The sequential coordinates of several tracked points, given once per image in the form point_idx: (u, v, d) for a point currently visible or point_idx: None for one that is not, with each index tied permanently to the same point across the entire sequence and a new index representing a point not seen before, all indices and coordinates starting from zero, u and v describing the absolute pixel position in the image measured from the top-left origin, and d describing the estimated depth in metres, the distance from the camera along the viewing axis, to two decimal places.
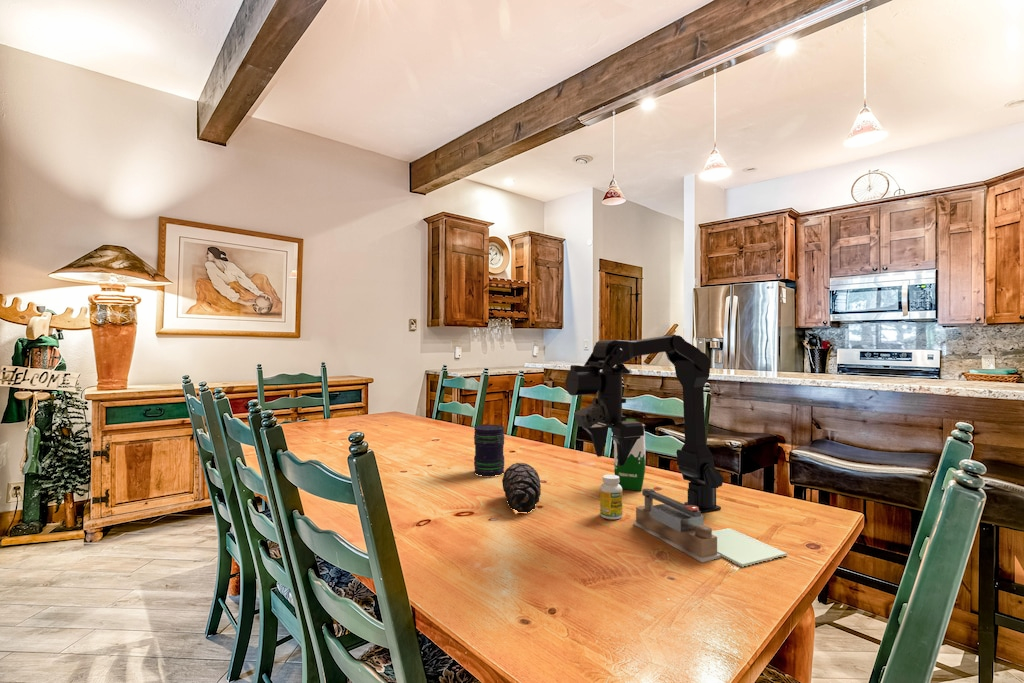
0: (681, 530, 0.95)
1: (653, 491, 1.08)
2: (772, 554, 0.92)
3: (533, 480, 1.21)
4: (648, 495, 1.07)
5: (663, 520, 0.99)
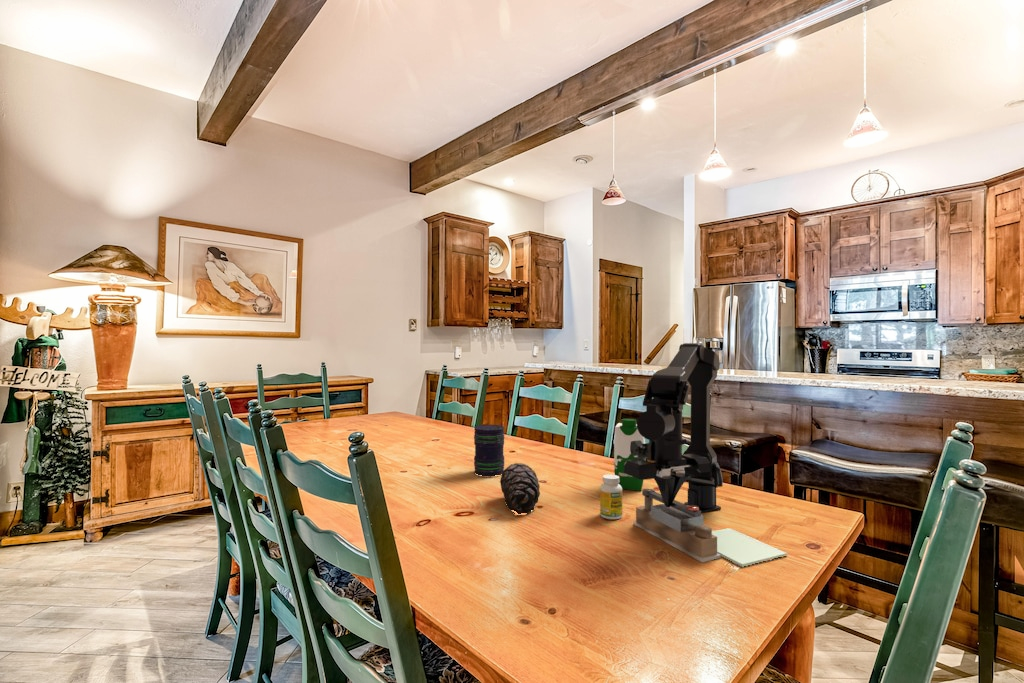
0: (681, 530, 0.95)
1: (653, 491, 1.08)
2: (772, 554, 0.92)
3: (532, 480, 1.20)
4: (648, 495, 1.07)
5: (663, 520, 0.99)
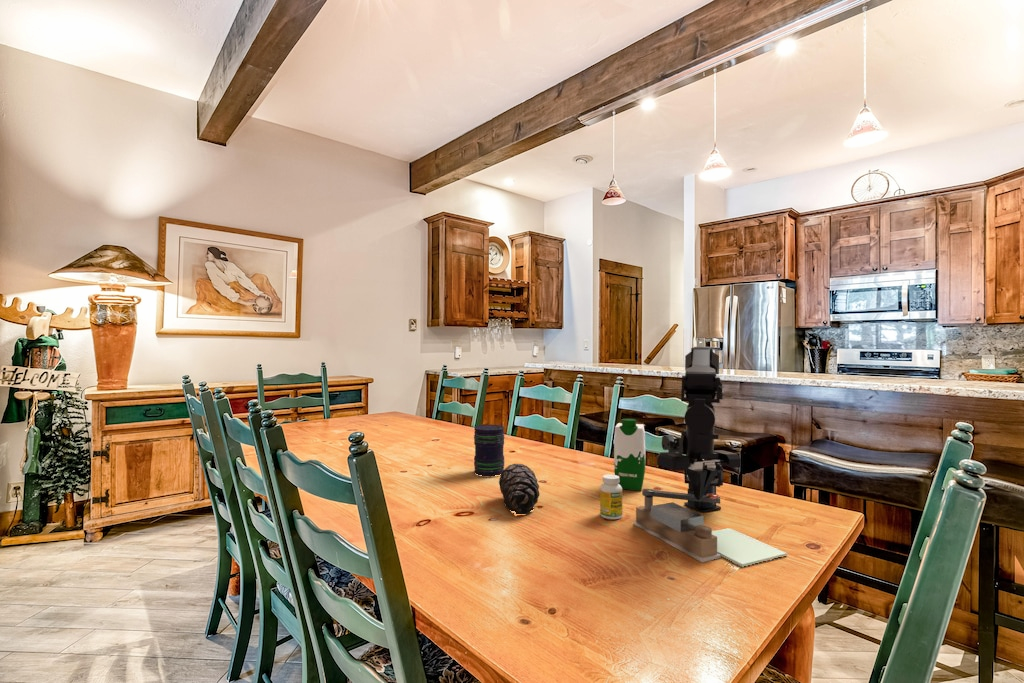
0: (681, 530, 0.95)
1: (653, 490, 1.09)
2: (772, 554, 0.92)
3: (531, 481, 1.20)
4: (653, 495, 1.07)
5: (663, 520, 0.99)
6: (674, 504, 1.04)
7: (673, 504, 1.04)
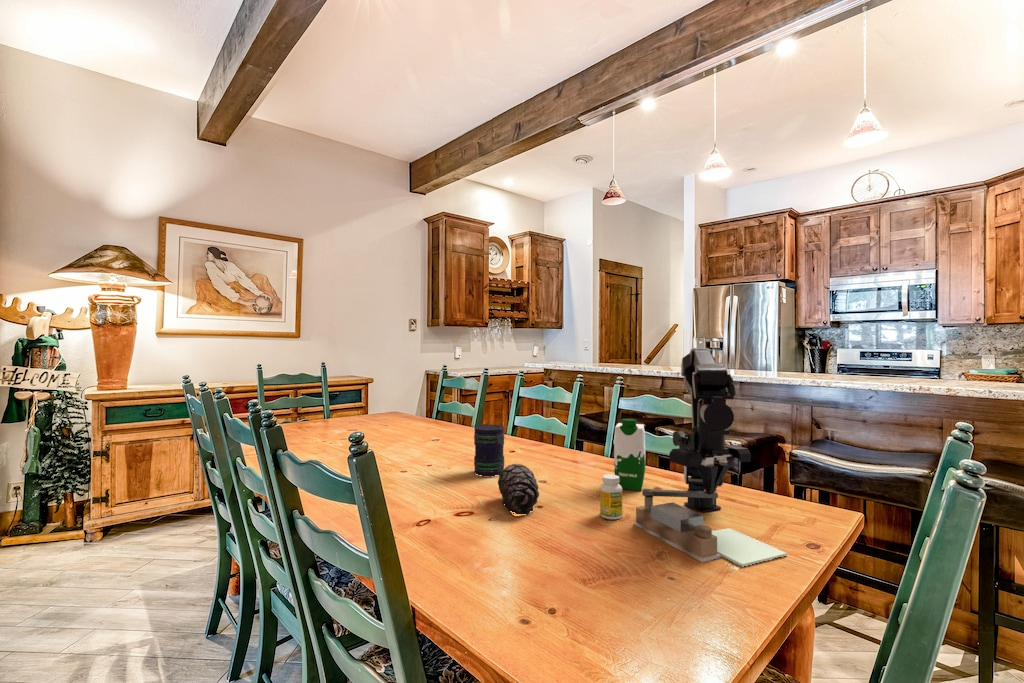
0: (681, 530, 0.95)
1: (652, 489, 1.09)
2: (772, 554, 0.92)
3: (531, 481, 1.20)
4: (654, 495, 1.07)
5: (663, 520, 0.99)
6: (674, 504, 1.04)
7: (673, 504, 1.04)
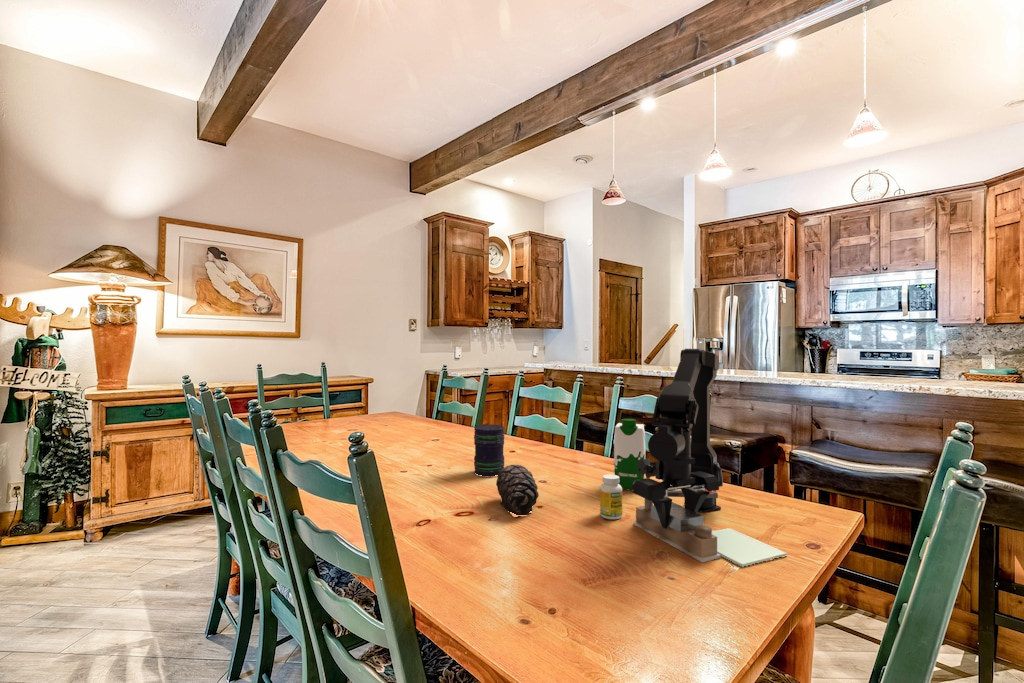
0: (681, 530, 0.95)
1: None
2: (772, 554, 0.92)
3: (530, 482, 1.19)
4: None
5: None
6: (674, 504, 1.04)
7: (673, 504, 1.04)
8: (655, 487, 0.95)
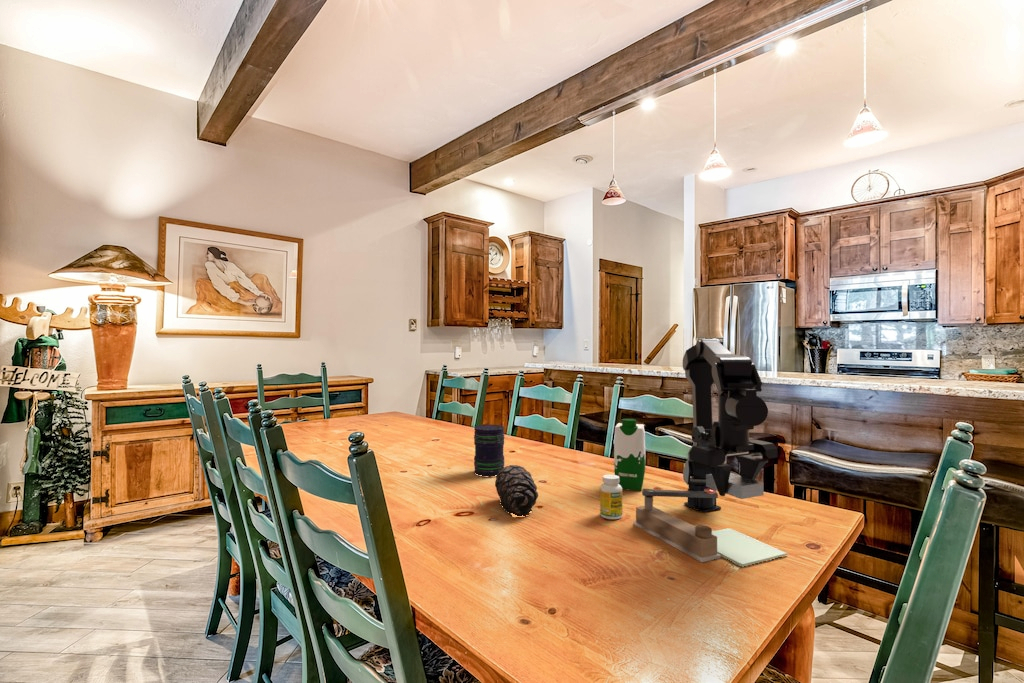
0: (742, 497, 0.92)
1: (652, 489, 1.09)
2: (772, 554, 0.92)
3: (529, 482, 1.19)
4: (654, 495, 1.07)
5: None
6: None
7: None
8: (715, 452, 0.92)
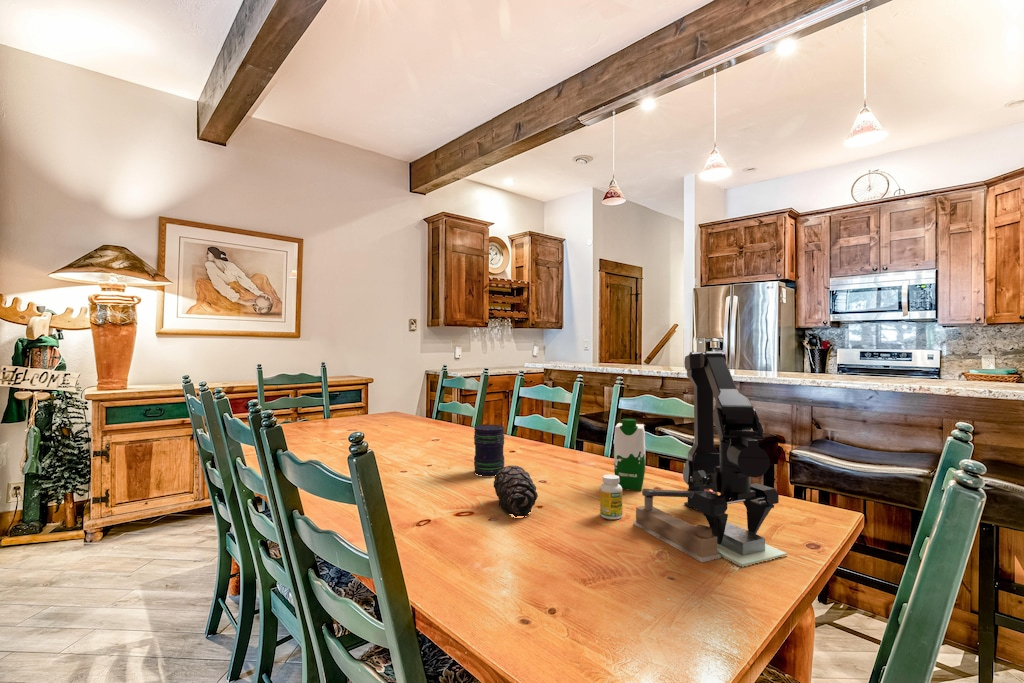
0: (743, 553, 0.92)
1: (652, 489, 1.09)
2: (772, 554, 0.92)
3: (529, 482, 1.19)
4: (654, 495, 1.07)
5: (722, 542, 0.96)
6: (731, 525, 1.01)
7: (730, 525, 1.01)
8: (716, 501, 0.92)
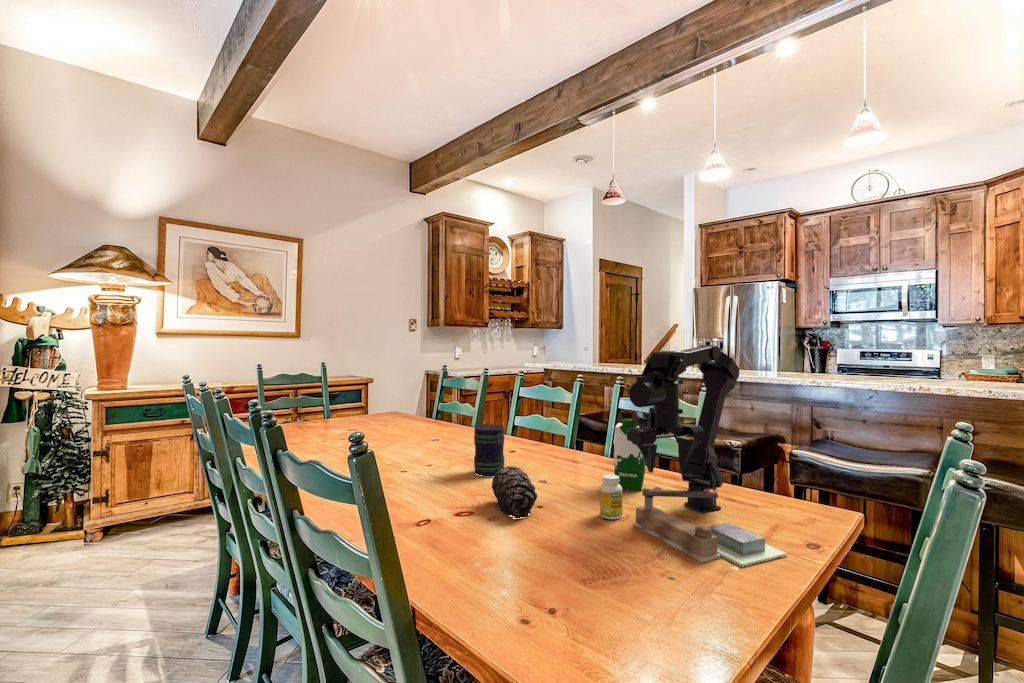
0: (743, 553, 0.92)
1: (652, 489, 1.09)
2: (772, 554, 0.92)
3: (528, 483, 1.18)
4: (654, 495, 1.07)
5: (722, 542, 0.96)
6: (731, 525, 1.01)
7: (730, 525, 1.01)
8: (647, 433, 1.06)
